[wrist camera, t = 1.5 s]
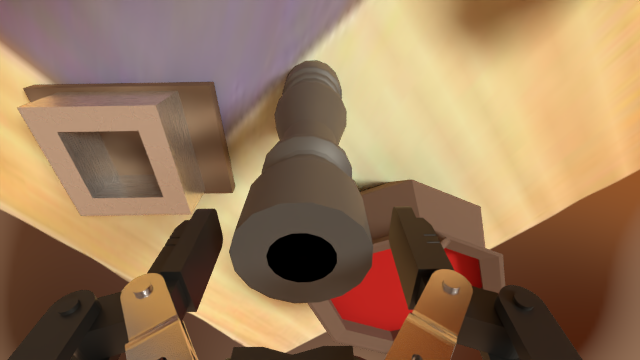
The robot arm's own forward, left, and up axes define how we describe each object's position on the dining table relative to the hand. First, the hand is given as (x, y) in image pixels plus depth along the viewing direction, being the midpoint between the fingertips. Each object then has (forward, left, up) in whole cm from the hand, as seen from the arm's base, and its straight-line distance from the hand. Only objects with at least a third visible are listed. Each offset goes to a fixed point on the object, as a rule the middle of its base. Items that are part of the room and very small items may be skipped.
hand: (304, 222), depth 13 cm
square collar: (+6, -21, -21) cm, 30 cm away
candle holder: (0, 0, -23) cm, 23 cm away
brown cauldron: (+20, +10, -23) cm, 32 cm away
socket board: (+6, -21, -23) cm, 32 cm away
